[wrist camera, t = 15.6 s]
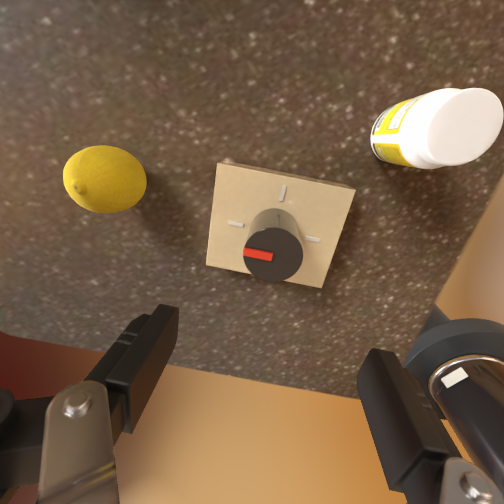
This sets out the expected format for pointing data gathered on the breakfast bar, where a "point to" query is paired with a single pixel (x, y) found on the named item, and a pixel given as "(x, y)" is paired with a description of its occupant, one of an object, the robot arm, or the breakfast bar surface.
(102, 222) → the breakfast bar surface
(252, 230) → the hob knob
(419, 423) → the robot arm
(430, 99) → the supplement bottle
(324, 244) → the knob base panel
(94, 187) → the lemon
